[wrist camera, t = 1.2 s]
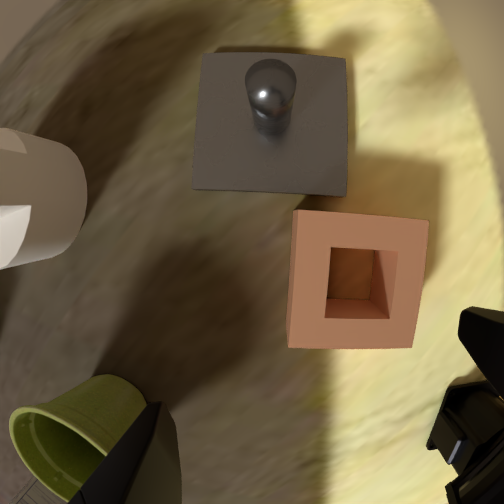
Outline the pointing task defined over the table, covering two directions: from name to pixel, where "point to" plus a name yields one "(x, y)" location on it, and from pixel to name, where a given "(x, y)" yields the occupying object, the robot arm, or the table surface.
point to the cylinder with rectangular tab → (38, 198)
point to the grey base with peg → (271, 124)
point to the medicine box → (36, 494)
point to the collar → (382, 286)
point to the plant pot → (74, 431)
